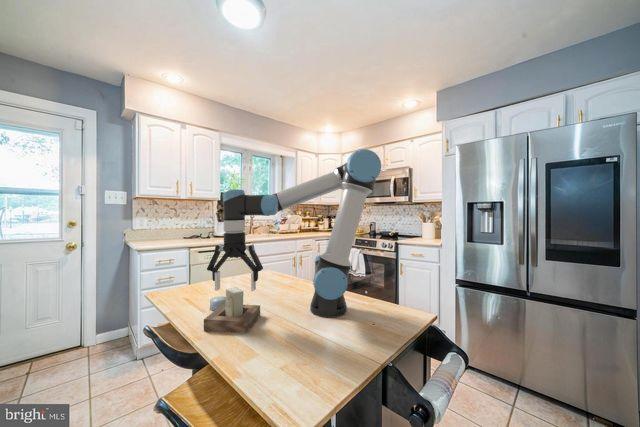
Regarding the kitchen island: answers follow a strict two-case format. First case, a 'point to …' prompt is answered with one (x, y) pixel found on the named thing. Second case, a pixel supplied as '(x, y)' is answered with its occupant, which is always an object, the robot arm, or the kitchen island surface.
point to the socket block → (232, 320)
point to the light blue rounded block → (217, 302)
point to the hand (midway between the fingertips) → (235, 289)
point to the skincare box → (234, 302)
